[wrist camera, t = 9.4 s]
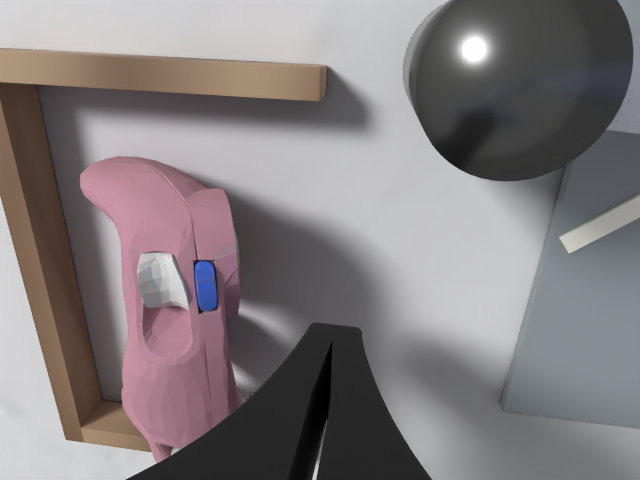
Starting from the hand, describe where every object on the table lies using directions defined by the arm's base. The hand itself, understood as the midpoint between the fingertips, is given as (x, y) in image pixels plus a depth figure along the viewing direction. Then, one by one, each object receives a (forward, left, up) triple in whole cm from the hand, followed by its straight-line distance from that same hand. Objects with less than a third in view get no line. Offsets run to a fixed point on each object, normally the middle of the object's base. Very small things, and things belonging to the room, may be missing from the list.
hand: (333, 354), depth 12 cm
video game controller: (+5, 0, -4) cm, 6 cm away
